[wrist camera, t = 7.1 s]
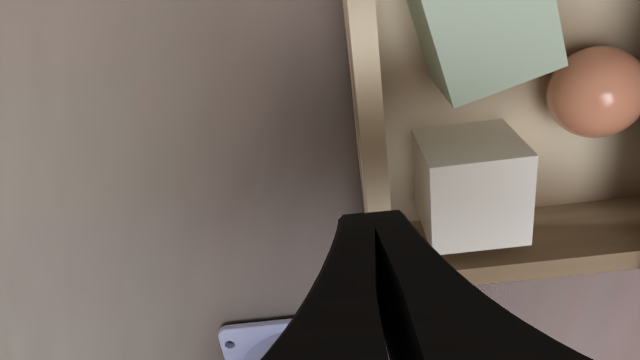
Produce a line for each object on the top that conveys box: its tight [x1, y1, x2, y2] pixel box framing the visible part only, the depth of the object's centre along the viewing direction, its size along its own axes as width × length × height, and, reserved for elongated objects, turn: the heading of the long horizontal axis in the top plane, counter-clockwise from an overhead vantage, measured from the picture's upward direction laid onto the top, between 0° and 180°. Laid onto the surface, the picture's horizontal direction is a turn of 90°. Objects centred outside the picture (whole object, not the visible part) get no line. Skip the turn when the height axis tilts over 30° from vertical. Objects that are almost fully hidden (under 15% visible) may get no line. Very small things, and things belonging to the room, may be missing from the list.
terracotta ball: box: [546, 46, 640, 138], centre depth 18 cm, size 3×3×3 cm
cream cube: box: [412, 119, 538, 255], centre depth 19 cm, size 4×4×4 cm
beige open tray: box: [342, 0, 640, 285], centre depth 18 cm, size 13×16×4 cm
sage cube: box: [406, 0, 568, 109], centre depth 16 cm, size 4×4×4 cm
